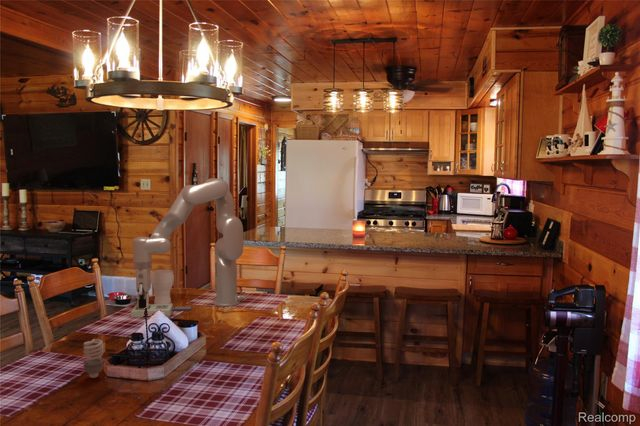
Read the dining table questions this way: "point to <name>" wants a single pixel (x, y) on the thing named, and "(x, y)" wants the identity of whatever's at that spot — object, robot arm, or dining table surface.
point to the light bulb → (94, 363)
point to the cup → (162, 285)
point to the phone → (182, 309)
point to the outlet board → (152, 309)
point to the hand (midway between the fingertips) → (143, 306)
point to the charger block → (146, 301)
